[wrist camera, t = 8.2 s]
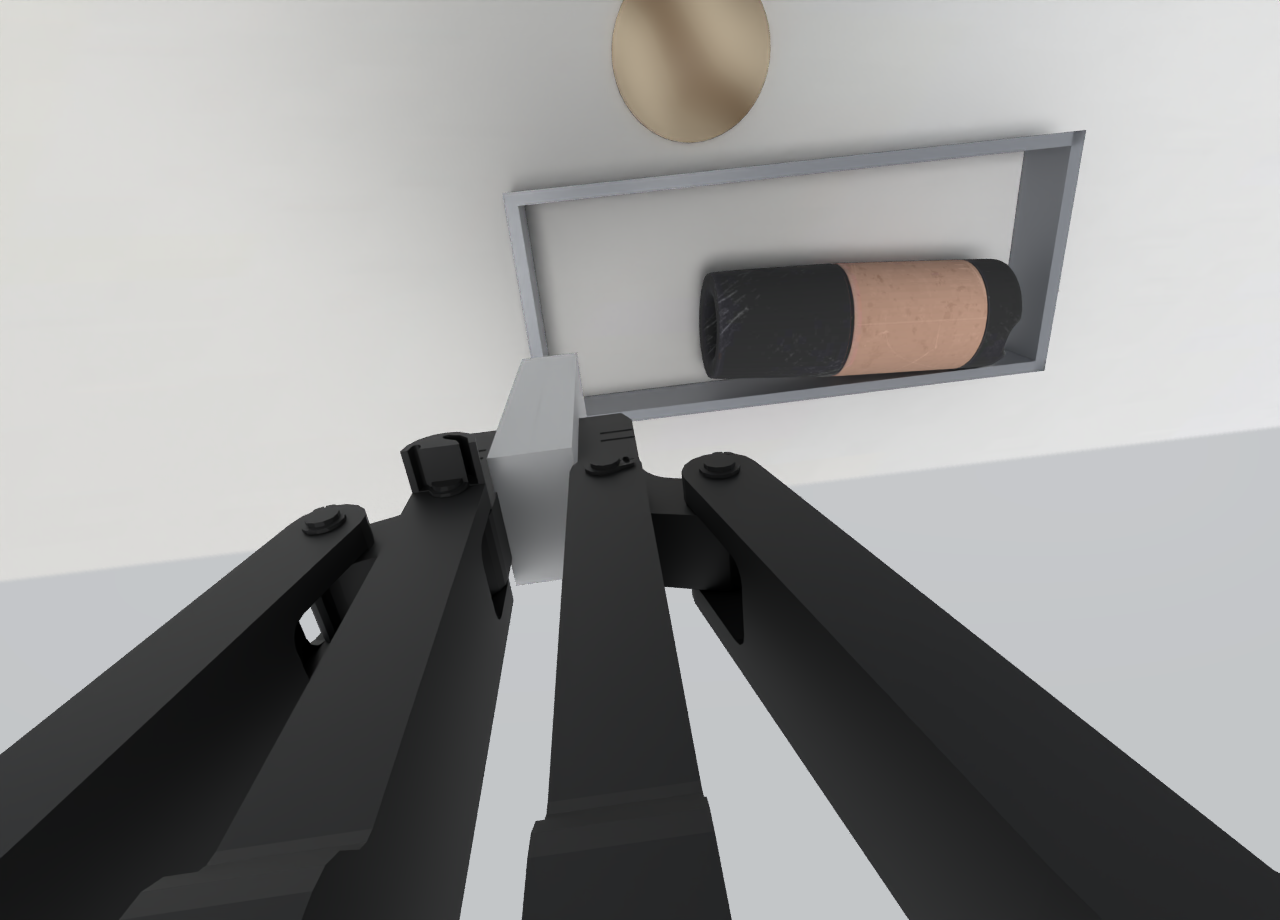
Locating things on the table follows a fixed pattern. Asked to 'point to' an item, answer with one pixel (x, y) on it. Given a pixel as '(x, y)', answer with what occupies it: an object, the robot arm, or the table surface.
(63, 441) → the table surface
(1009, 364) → the tray
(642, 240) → the table surface
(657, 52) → the cork coaster
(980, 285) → the travel mug
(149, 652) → the robot arm
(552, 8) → the table surface
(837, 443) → the table surface
